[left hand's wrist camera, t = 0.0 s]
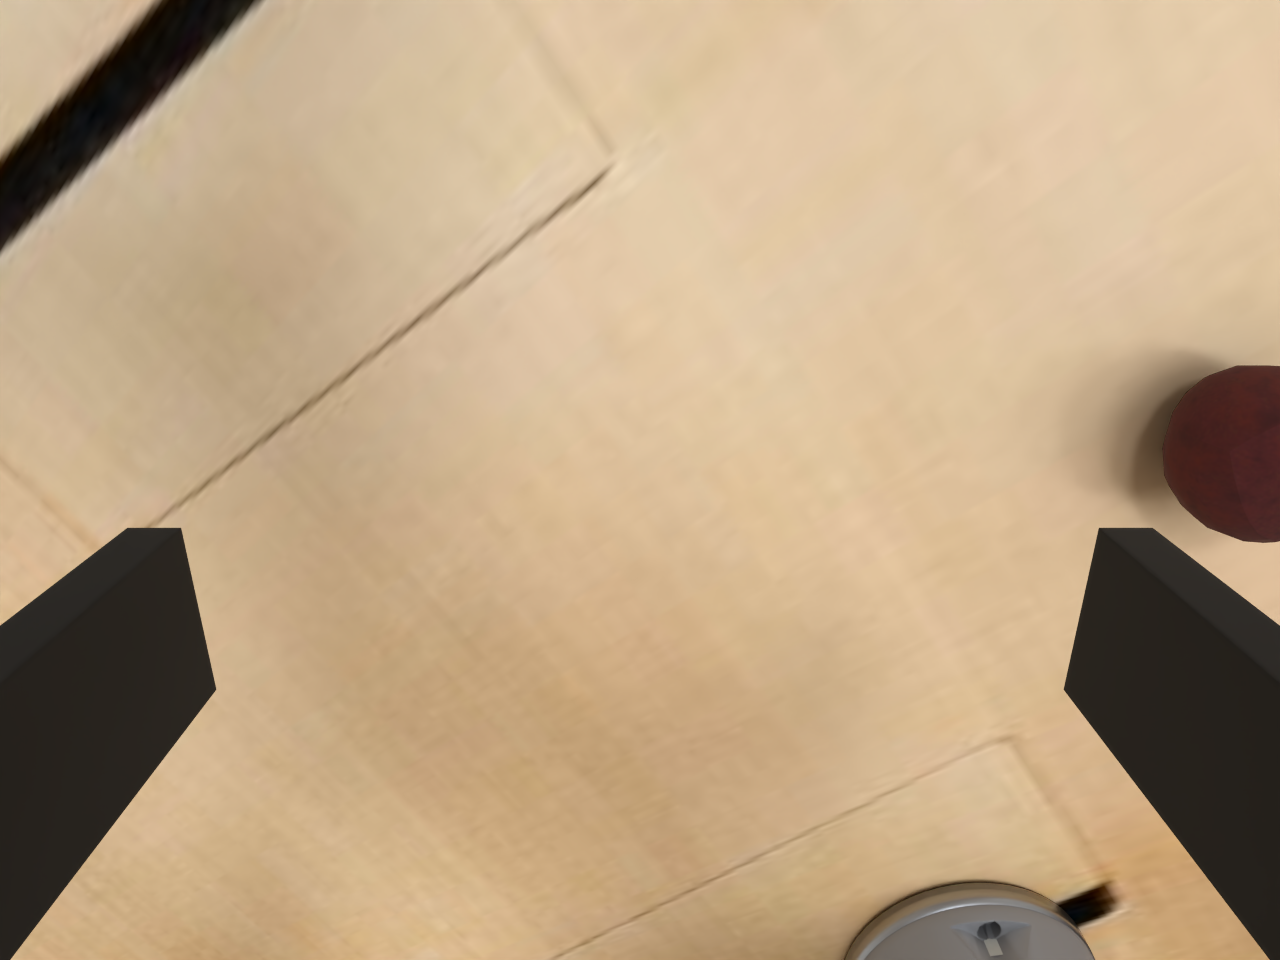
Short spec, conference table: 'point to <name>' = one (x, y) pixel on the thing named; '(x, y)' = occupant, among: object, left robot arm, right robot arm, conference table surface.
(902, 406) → the conference table surface
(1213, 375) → the dark maroon ball
